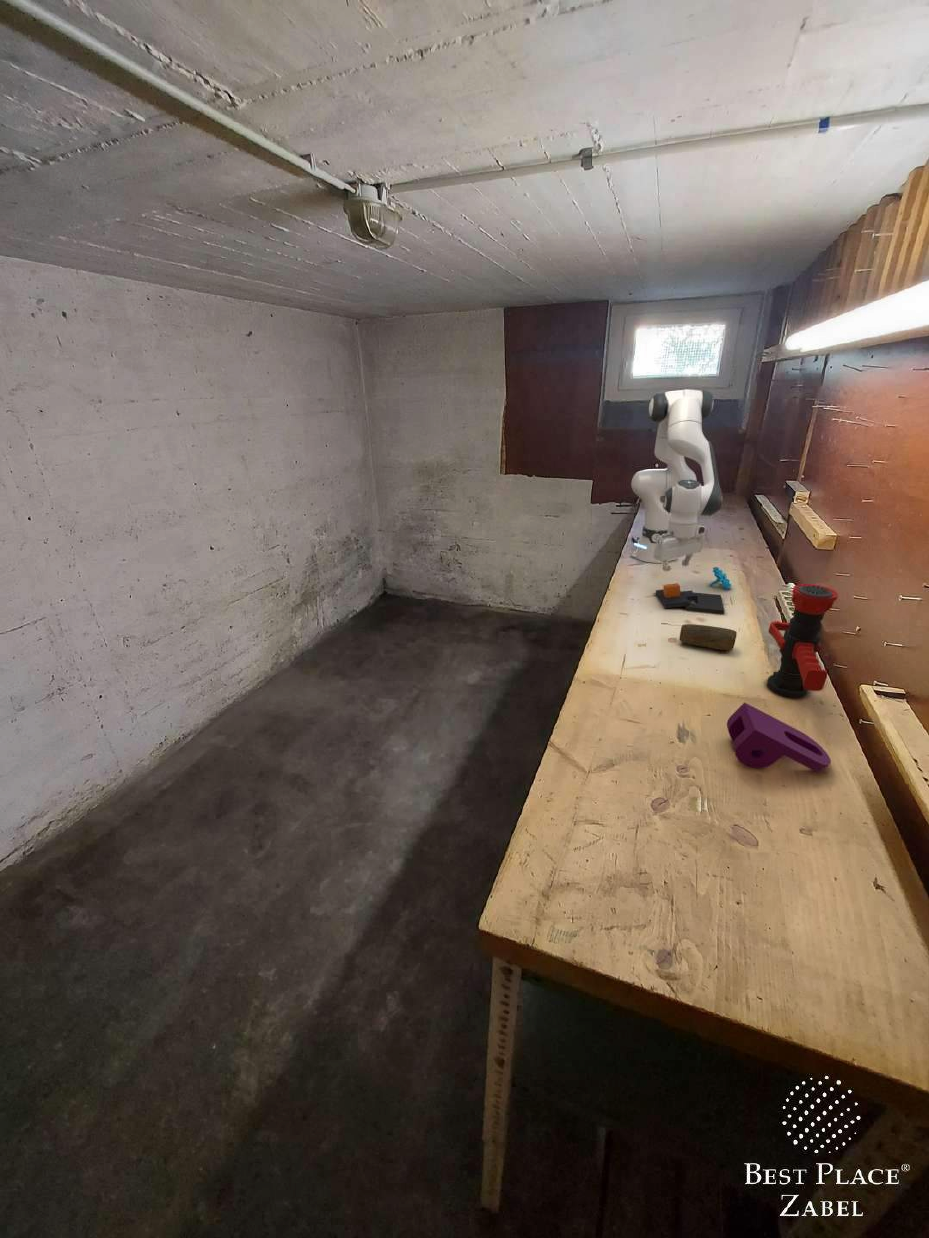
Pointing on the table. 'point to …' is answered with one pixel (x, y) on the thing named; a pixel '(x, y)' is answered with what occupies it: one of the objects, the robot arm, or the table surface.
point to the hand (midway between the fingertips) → (675, 568)
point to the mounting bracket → (771, 741)
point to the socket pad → (707, 604)
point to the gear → (721, 578)
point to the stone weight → (708, 636)
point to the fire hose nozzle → (801, 643)
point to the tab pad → (676, 599)
